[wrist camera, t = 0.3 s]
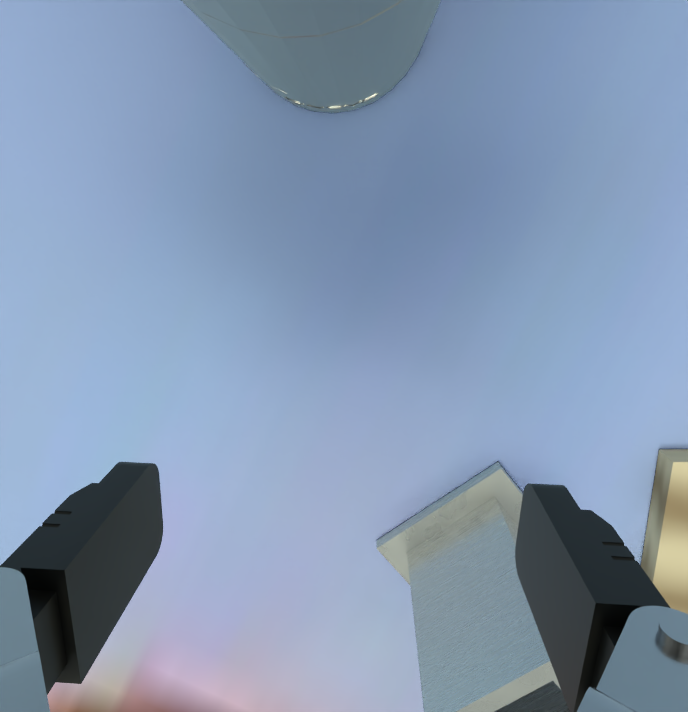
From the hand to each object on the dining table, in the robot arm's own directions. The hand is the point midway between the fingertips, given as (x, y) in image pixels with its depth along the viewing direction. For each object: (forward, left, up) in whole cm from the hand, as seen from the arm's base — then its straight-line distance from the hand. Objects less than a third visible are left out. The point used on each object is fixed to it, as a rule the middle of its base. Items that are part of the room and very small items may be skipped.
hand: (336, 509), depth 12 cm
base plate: (+18, +24, -19) cm, 36 cm away
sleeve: (+15, +7, -19) cm, 25 cm away
